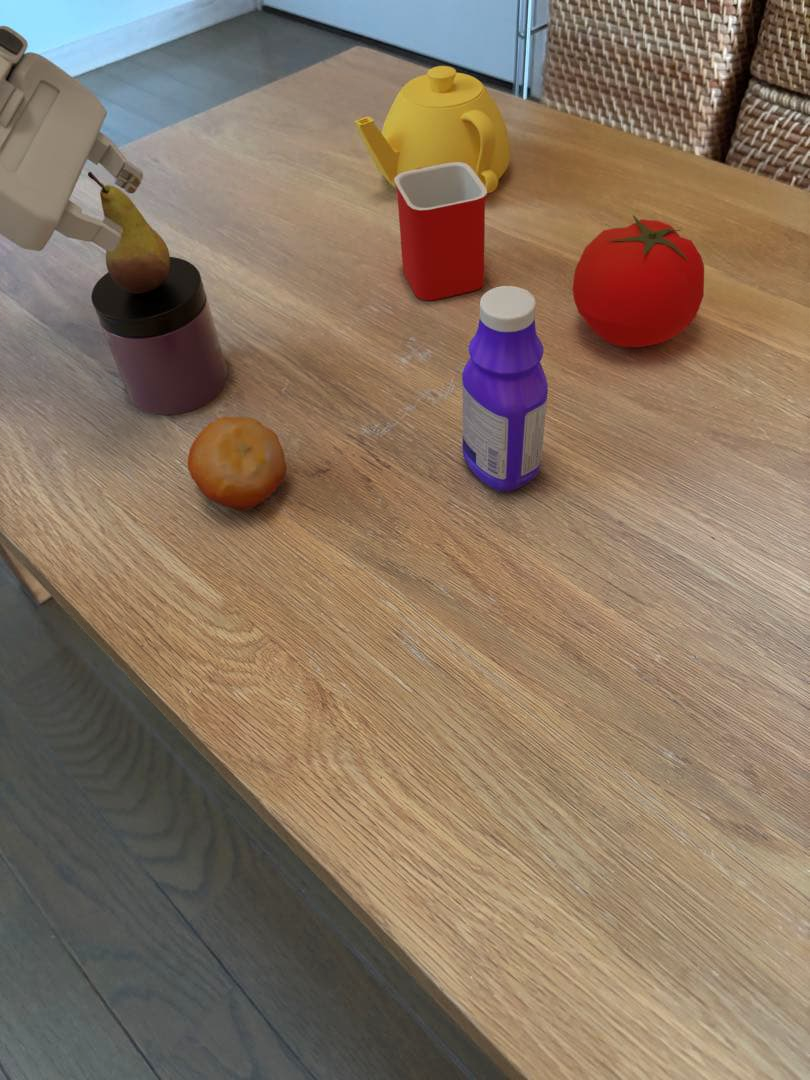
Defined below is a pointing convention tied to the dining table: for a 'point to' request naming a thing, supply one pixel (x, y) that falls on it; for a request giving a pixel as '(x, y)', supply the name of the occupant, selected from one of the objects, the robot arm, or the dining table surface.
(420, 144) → the teapot
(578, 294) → the tomato
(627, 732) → the dining table surface
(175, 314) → the jar lid
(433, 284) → the mug
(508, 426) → the bottle
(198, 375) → the jar
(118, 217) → the fruit
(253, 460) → the fruit
